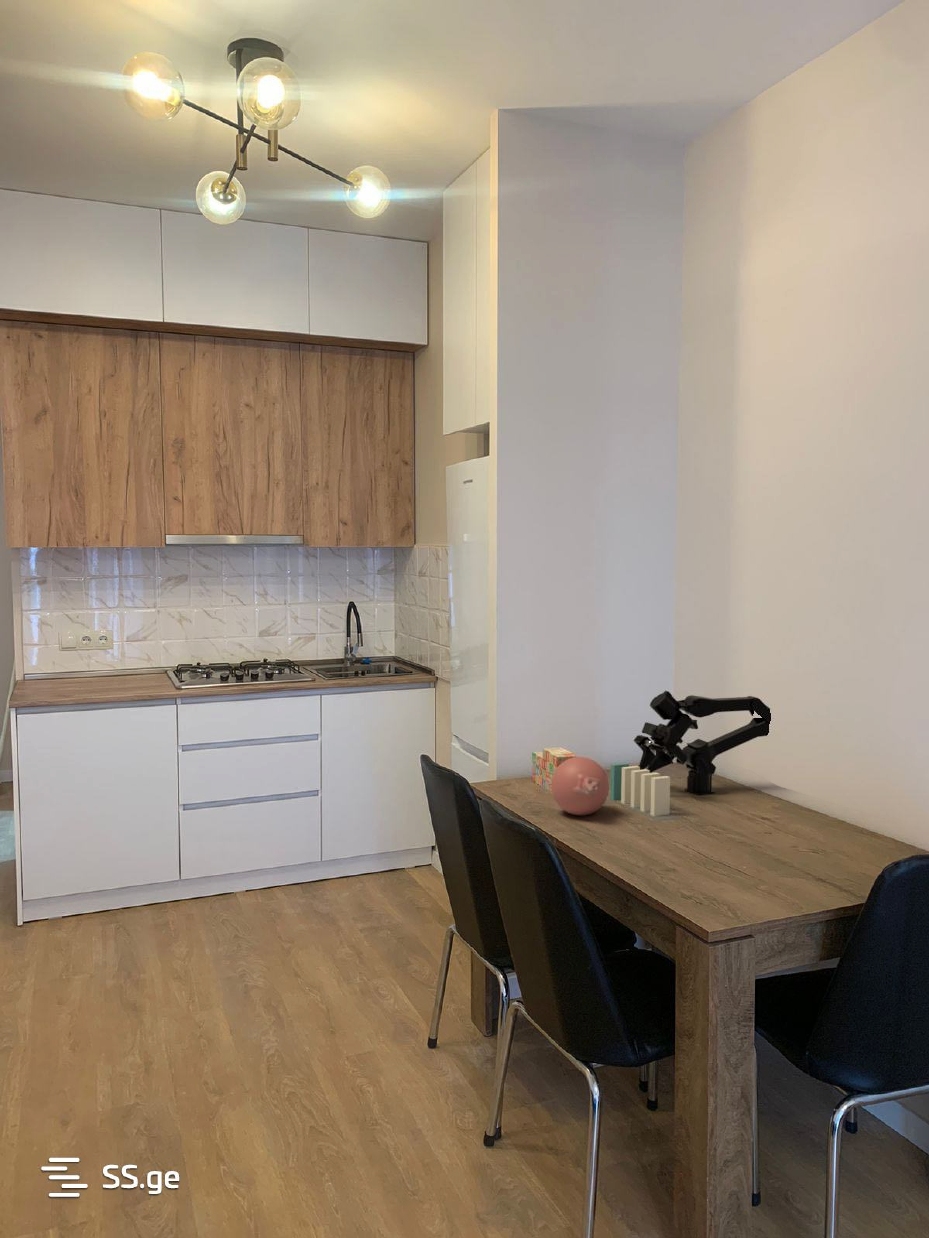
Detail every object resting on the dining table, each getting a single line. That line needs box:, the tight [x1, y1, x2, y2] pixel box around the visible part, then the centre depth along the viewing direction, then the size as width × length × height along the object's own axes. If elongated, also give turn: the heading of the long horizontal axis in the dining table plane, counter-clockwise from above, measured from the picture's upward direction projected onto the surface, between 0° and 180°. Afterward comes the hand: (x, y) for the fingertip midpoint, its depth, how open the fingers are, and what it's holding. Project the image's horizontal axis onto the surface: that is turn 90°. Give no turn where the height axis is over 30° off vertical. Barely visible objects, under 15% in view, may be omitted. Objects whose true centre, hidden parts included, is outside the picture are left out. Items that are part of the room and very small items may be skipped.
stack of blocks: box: [531, 747, 578, 794], centre depth 276 cm, size 21×6×12 cm, turn 15°
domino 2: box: [631, 768, 650, 808], centre depth 256 cm, size 2×5×10 cm, turn 116°
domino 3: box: [640, 772, 661, 812], centre depth 252 cm, size 2×5×10 cm, turn 115°
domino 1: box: [621, 765, 640, 804], centre depth 260 cm, size 2×5×10 cm, turn 116°
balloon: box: [551, 756, 610, 816], centre depth 246 cm, size 15×20×15 cm
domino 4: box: [650, 775, 671, 816], centre depth 248 cm, size 2×5×10 cm, turn 116°
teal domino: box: [609, 762, 630, 800], centre depth 264 cm, size 2×5×10 cm, turn 115°
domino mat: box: [608, 800, 682, 821], centre depth 256 cm, size 8×27×1 cm, turn 25°
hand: (642, 771), depth 267 cm, fingers open, 3 cm apart
